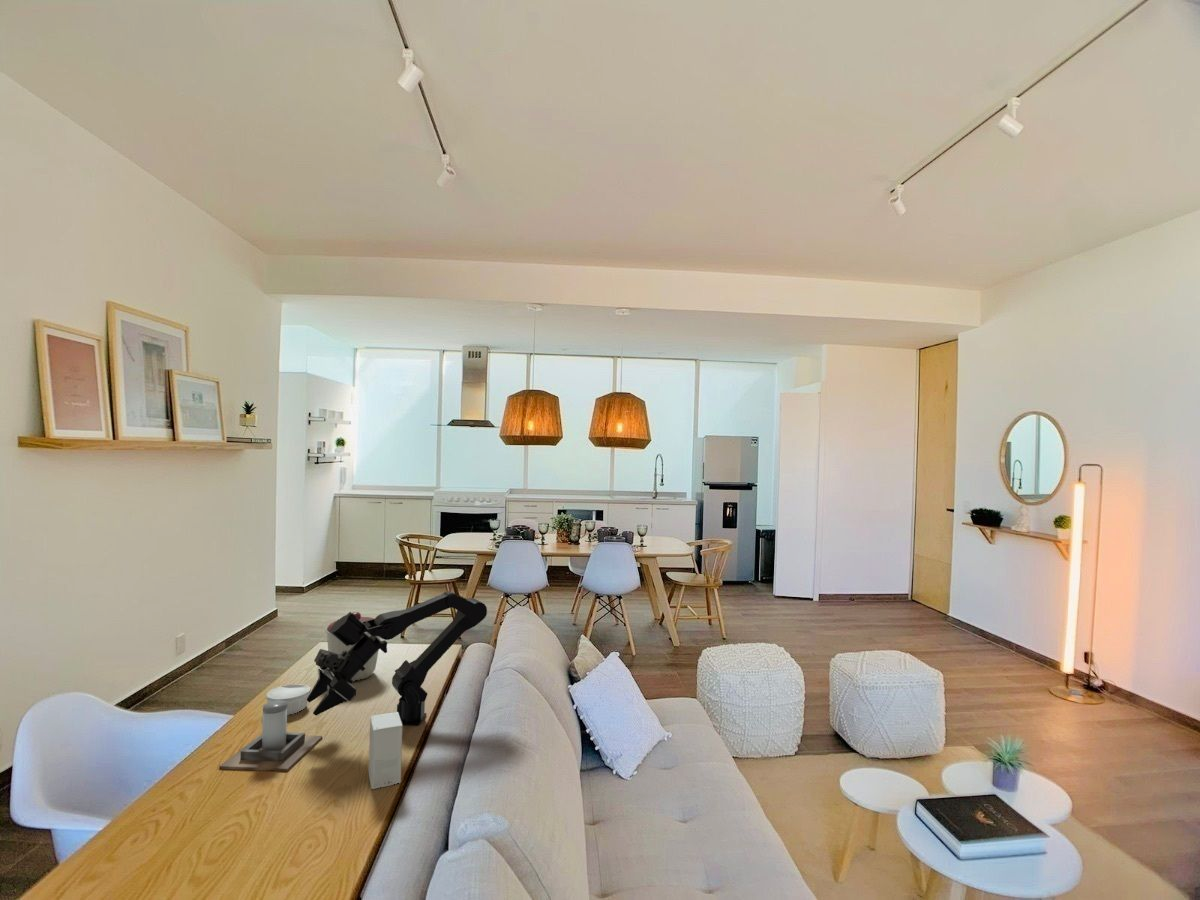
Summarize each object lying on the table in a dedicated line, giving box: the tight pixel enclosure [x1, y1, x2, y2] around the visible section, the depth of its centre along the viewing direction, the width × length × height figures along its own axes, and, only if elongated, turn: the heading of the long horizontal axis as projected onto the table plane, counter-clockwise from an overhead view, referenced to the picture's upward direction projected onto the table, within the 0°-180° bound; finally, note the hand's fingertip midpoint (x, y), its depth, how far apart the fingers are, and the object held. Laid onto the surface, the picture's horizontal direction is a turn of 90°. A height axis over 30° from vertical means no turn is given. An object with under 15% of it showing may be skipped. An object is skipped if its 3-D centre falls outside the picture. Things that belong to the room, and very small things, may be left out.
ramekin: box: [265, 683, 312, 716], centre depth 166 cm, size 11×11×5 cm
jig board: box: [218, 731, 323, 772], centre depth 142 cm, size 16×16×3 cm
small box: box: [367, 711, 404, 790], centre depth 133 cm, size 8×6×13 cm
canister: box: [324, 611, 381, 682], centre depth 192 cm, size 18×18×21 cm
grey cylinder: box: [261, 700, 288, 751], centre depth 142 cm, size 5×5×11 cm
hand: (311, 707), depth 147 cm, fingers open, 9 cm apart
